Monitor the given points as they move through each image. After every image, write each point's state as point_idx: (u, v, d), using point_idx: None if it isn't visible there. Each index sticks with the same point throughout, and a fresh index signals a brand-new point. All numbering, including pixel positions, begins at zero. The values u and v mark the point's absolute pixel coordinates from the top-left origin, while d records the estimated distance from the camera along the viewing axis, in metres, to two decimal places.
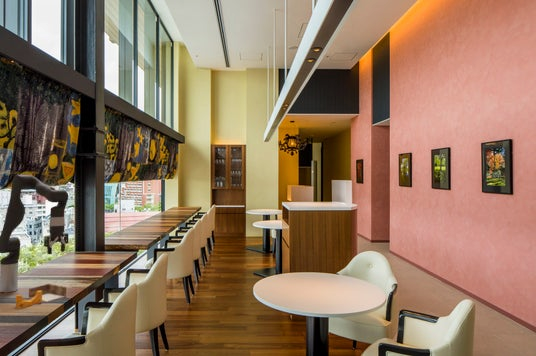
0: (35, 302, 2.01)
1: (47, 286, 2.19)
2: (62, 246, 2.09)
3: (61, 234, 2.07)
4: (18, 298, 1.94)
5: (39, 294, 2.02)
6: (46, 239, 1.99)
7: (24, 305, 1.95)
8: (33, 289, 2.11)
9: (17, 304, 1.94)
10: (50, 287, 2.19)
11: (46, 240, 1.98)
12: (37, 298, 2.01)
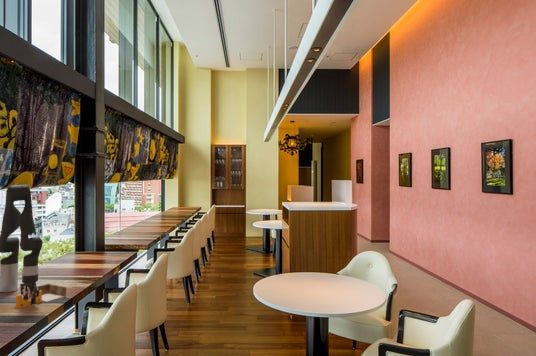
0: None
1: (47, 286, 2.19)
2: (26, 297, 2.00)
3: None
4: (18, 298, 1.95)
5: (39, 294, 2.03)
6: (38, 289, 1.97)
7: (24, 305, 1.96)
8: None
9: (17, 304, 1.94)
10: (50, 287, 2.19)
11: (38, 290, 1.97)
12: (37, 297, 2.02)
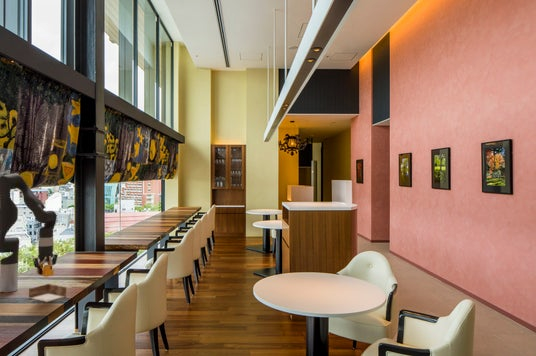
0: None
1: (47, 286, 2.19)
2: None
3: None
4: None
5: None
6: None
7: None
8: (33, 289, 2.11)
9: (50, 272, 2.07)
10: (50, 287, 2.19)
11: None
12: None
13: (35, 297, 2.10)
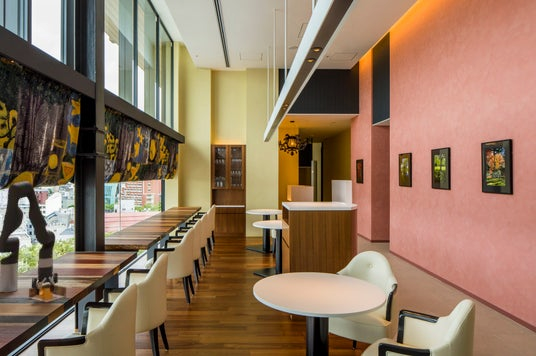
0: None
1: (47, 286, 2.19)
2: None
3: None
4: None
5: None
6: None
7: None
8: (33, 289, 2.11)
9: (50, 296, 2.07)
10: None
11: None
12: None
13: (35, 297, 2.10)
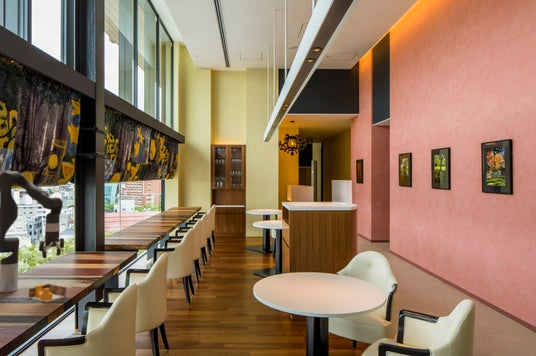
0: None
1: (47, 286, 2.19)
2: None
3: None
4: None
5: None
6: None
7: None
8: (33, 289, 2.11)
9: (49, 296, 2.07)
10: (50, 287, 2.19)
11: None
12: None
13: (35, 297, 2.10)
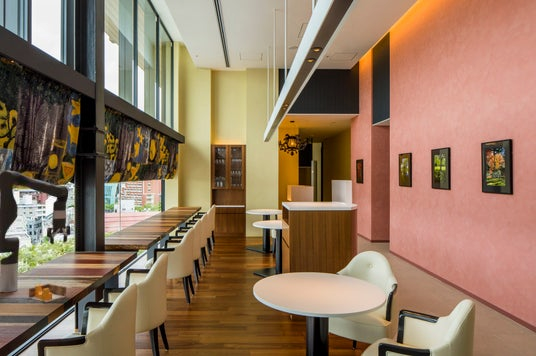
0: None
1: (47, 286, 2.19)
2: None
3: None
4: None
5: None
6: None
7: None
8: (33, 289, 2.11)
9: (49, 296, 2.07)
10: (50, 287, 2.19)
11: None
12: None
13: (35, 297, 2.10)
